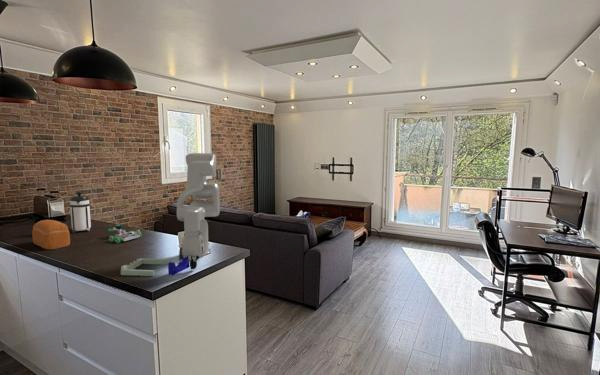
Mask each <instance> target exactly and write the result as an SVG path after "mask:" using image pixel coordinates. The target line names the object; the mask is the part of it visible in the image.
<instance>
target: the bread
mask: <svg viewBox="0 0 600 375" xmlns="http://www.w3.org/2000/svg"><path fill="white" fill-rule="evenodd" d="M31 234H32V243H33V244H34V245H36V246H38V247H41V248H42V249H45V250H56V249H61V248H65V247H69V246H70V245H71V236H70V235H71V234H70V231H69V227H68V225H67V224H65V223H63V222H61V221H58V220H56V219H55V220H54V219H42V220H40V221H37V222H36V223H34V224H33V226H32V232H31Z"/></svg>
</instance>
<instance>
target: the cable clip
mask: <svg viewBox="0 0 600 375" xmlns="http://www.w3.org/2000/svg"><path fill="white" fill-rule="evenodd" d="M167 266H168V267H167V270H168V272H167V273H168V275H171V276H174V275H176V274H179V273H181V272H183V271H184V270H186V269H188V268H190V262H189V260H188V259H187V258H184V257H183V256H182V259H181V261H179V262H178V263H177V265H176V262H173V261H170V262H169V263H168V265H167Z"/></svg>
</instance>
